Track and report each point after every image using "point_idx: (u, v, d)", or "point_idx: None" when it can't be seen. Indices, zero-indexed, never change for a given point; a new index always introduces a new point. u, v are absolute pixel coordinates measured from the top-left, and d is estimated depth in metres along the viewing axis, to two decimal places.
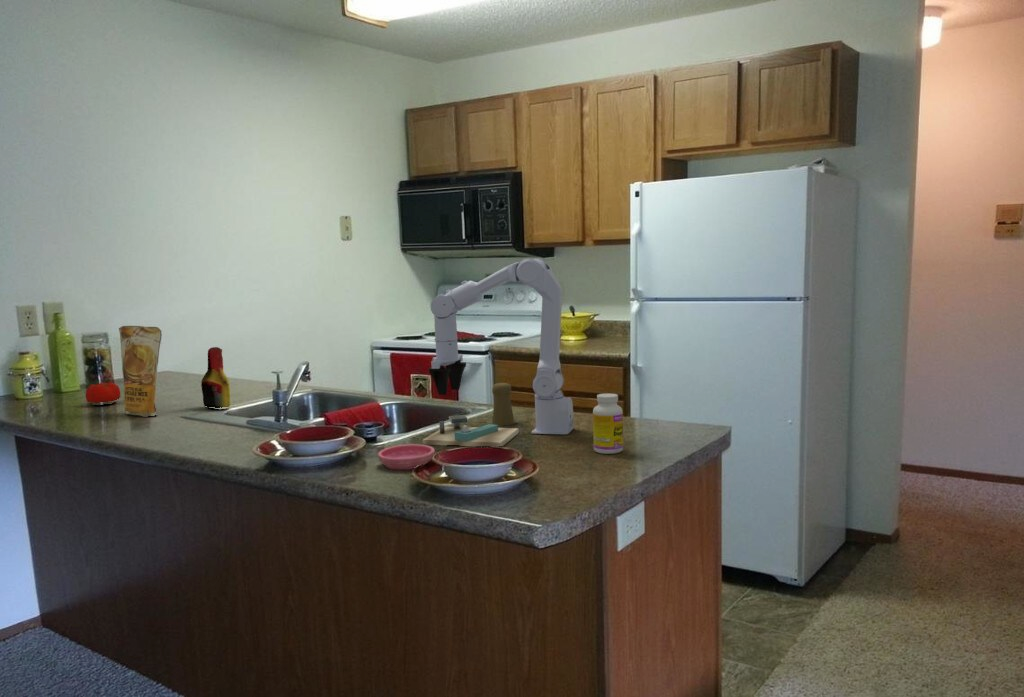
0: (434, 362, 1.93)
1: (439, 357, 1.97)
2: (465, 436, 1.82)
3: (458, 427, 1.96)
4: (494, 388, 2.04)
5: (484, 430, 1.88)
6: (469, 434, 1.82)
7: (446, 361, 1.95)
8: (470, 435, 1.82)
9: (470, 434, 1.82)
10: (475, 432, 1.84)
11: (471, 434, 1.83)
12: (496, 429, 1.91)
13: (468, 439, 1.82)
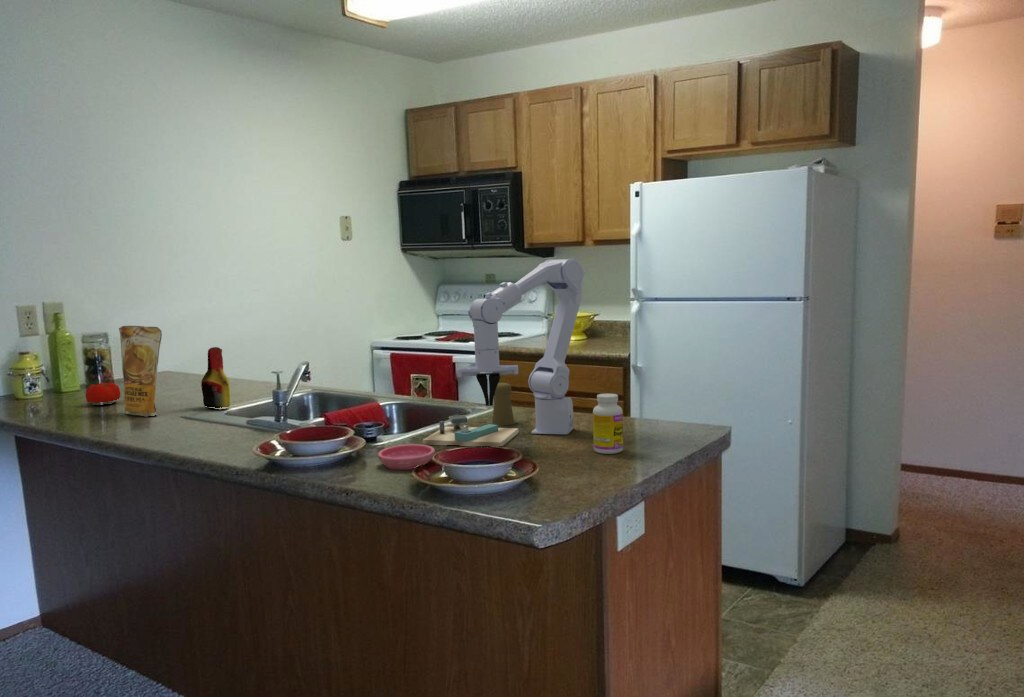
0: (457, 369, 1.81)
1: None
2: (465, 436, 1.82)
3: (458, 427, 1.96)
4: None
5: (484, 430, 1.88)
6: (469, 434, 1.82)
7: (471, 370, 1.80)
8: (470, 435, 1.82)
9: (470, 434, 1.82)
10: (475, 432, 1.84)
11: (471, 434, 1.83)
12: (496, 429, 1.91)
13: (468, 439, 1.82)
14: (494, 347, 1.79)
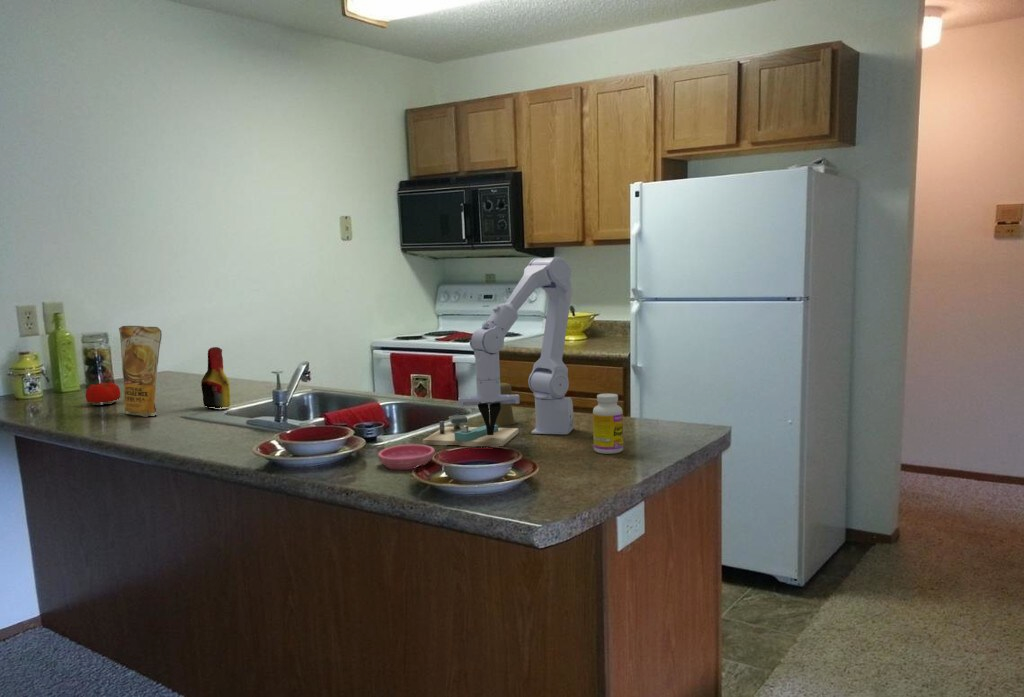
0: None
1: None
2: (465, 436, 1.82)
3: (458, 427, 1.96)
4: None
5: (484, 430, 1.88)
6: (469, 434, 1.82)
7: (472, 400, 1.81)
8: (470, 435, 1.82)
9: (470, 434, 1.82)
10: (475, 432, 1.84)
11: (471, 434, 1.83)
12: (496, 429, 1.91)
13: (468, 439, 1.82)
14: (495, 377, 1.80)
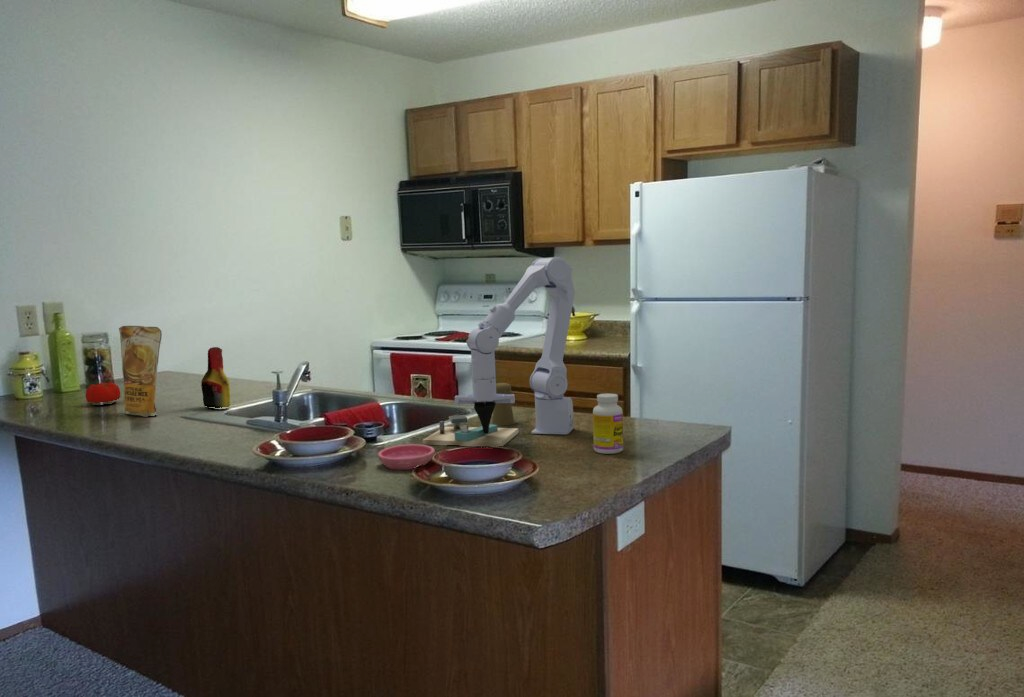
0: None
1: None
2: (465, 436, 1.82)
3: (458, 427, 1.96)
4: None
5: None
6: (469, 434, 1.82)
7: (467, 399, 1.84)
8: (470, 435, 1.83)
9: (470, 434, 1.83)
10: (475, 432, 1.84)
11: (471, 434, 1.83)
12: (495, 429, 1.92)
13: (468, 439, 1.82)
14: (489, 376, 1.83)
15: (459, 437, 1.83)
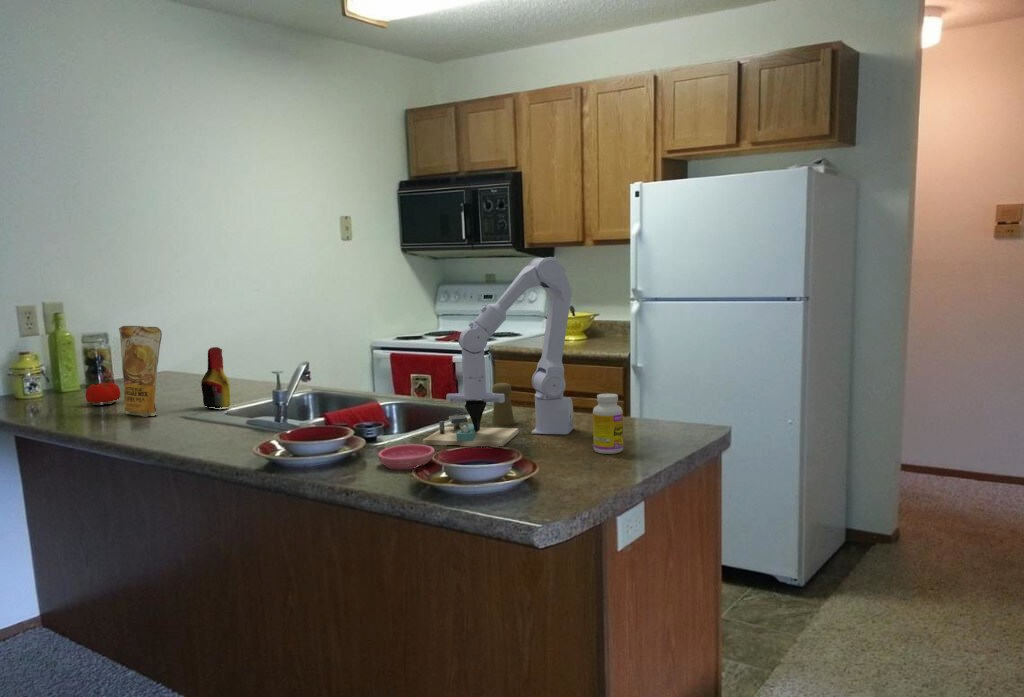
0: None
1: None
2: (470, 435, 1.82)
3: (458, 427, 1.96)
4: (494, 388, 2.04)
5: None
6: (472, 433, 1.83)
7: (457, 397, 1.88)
8: (473, 434, 1.83)
9: (473, 433, 1.83)
10: (474, 431, 1.85)
11: (473, 433, 1.84)
12: None
13: (472, 438, 1.83)
14: (477, 376, 1.85)
15: (462, 437, 1.82)
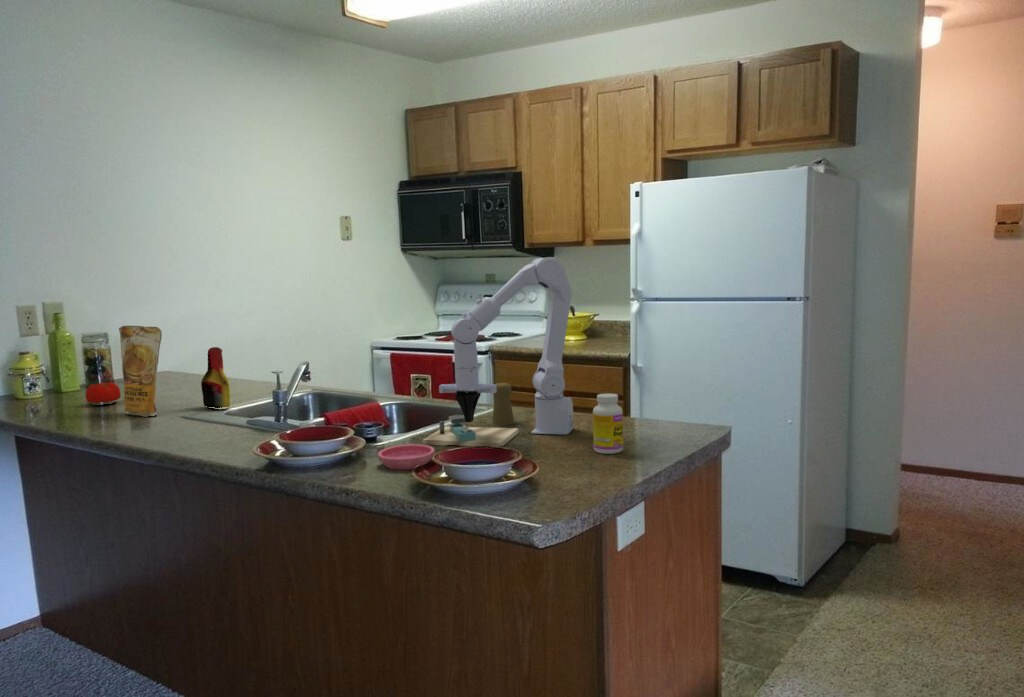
0: None
1: None
2: (473, 435, 1.83)
3: None
4: None
5: None
6: None
7: (449, 387, 1.88)
8: None
9: None
10: None
11: None
12: None
13: None
14: (469, 366, 1.85)
15: (466, 437, 1.82)
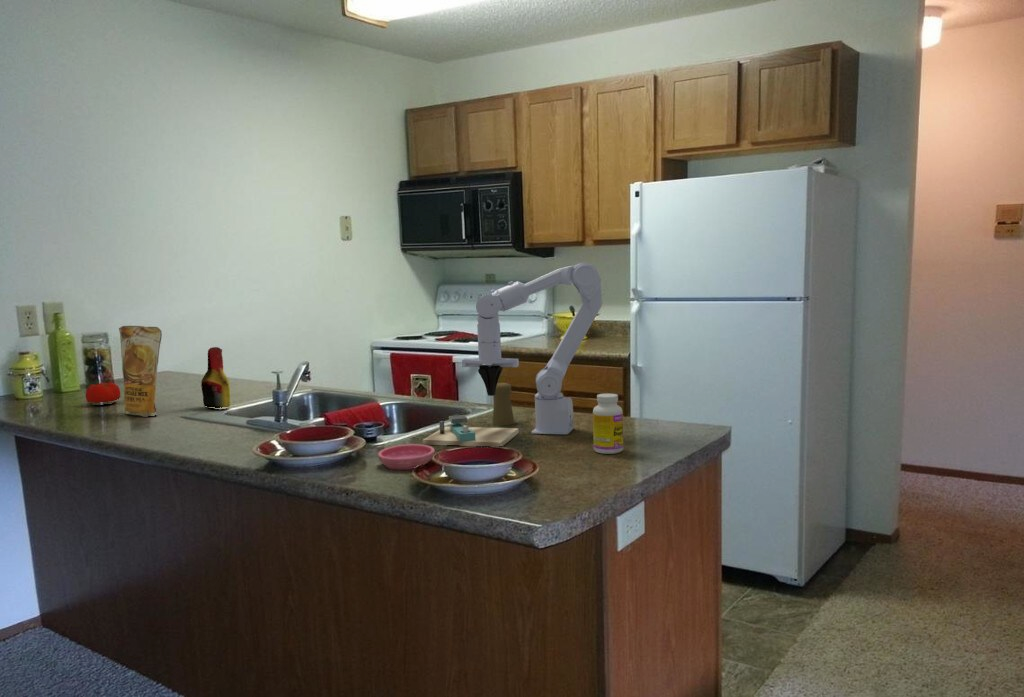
0: None
1: None
2: (473, 435, 1.83)
3: None
4: None
5: None
6: None
7: (472, 362, 1.92)
8: None
9: None
10: None
11: None
12: None
13: None
14: (490, 341, 1.89)
15: (466, 437, 1.82)
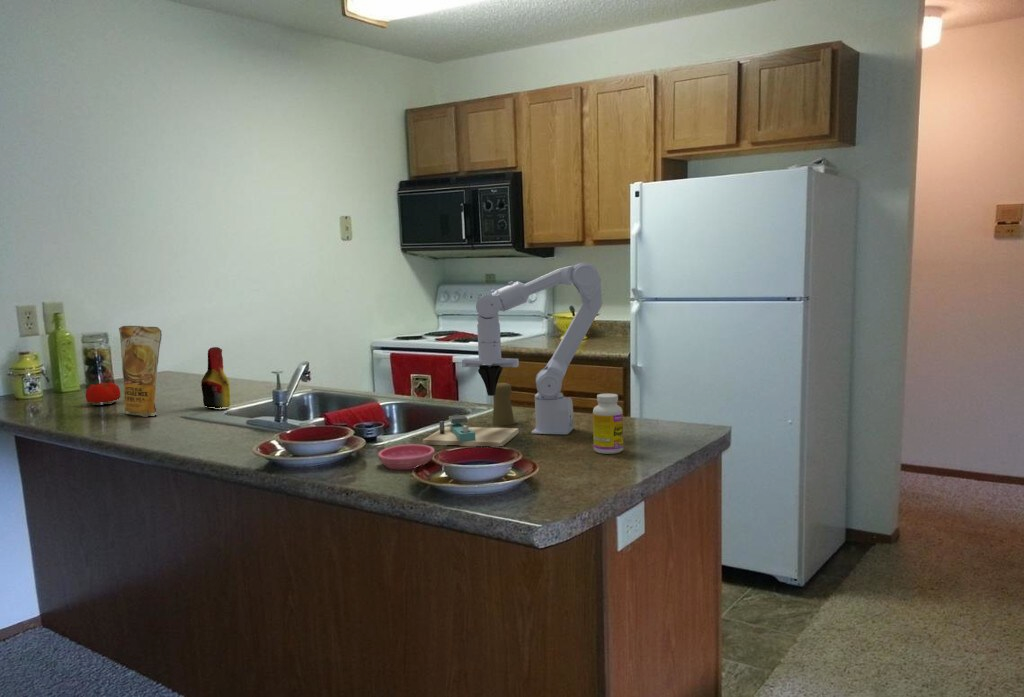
0: None
1: None
2: (473, 435, 1.83)
3: None
4: None
5: None
6: None
7: (472, 362, 1.92)
8: None
9: None
10: None
11: None
12: None
13: None
14: (490, 341, 1.89)
15: (466, 437, 1.82)
